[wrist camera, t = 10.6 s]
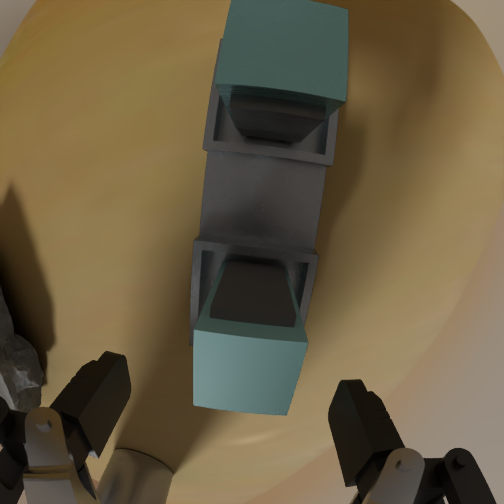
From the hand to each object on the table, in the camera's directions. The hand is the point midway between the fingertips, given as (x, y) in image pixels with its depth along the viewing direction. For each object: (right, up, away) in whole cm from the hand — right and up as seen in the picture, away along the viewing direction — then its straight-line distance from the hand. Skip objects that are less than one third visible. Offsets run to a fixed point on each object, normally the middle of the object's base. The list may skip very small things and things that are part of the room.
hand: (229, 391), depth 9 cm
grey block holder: (+1, +9, +9) cm, 12 cm away
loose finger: (+1, +2, +8) cm, 9 cm away
